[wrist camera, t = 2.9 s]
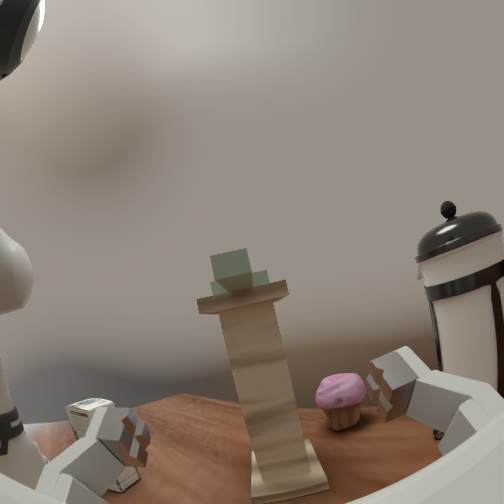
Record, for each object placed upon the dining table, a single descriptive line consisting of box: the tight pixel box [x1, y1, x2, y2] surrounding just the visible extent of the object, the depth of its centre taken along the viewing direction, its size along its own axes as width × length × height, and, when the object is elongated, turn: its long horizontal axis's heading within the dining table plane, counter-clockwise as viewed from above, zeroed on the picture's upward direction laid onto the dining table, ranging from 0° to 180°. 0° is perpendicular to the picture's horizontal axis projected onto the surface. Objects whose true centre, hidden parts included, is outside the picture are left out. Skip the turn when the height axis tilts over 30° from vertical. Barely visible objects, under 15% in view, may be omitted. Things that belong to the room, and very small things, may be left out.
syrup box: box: [66, 398, 141, 493], centre depth 27 cm, size 6×6×14 cm
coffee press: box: [415, 201, 504, 439], centre depth 22 cm, size 17×16×30 cm
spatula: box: [210, 248, 269, 296], centre depth 28 cm, size 21×6×2 cm, turn 179°
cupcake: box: [316, 373, 366, 431], centre depth 39 cm, size 9×9×10 cm
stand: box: [197, 280, 330, 504], centre depth 30 cm, size 13×9×26 cm
